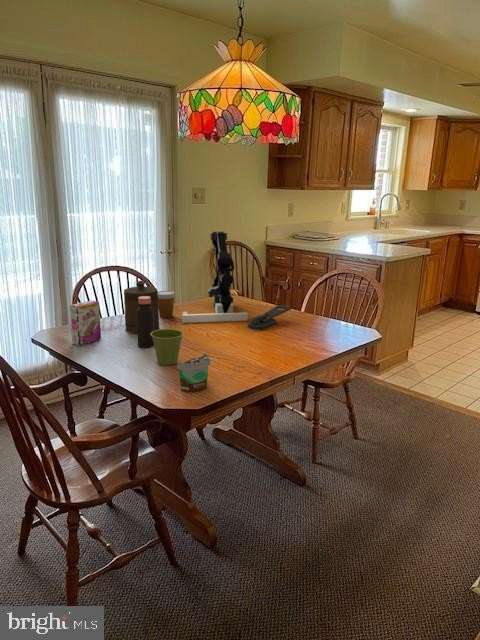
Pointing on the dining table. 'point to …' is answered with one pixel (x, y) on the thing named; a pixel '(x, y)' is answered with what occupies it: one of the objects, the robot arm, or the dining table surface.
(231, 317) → the cleat board
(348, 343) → the dining table surface
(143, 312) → the bottle
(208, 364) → the food container
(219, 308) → the cabinet block
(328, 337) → the dining table surface
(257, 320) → the dark grey elongated piece
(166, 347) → the plant pot
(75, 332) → the candy bar box
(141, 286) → the wooden container
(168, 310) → the disposable coffee cup
